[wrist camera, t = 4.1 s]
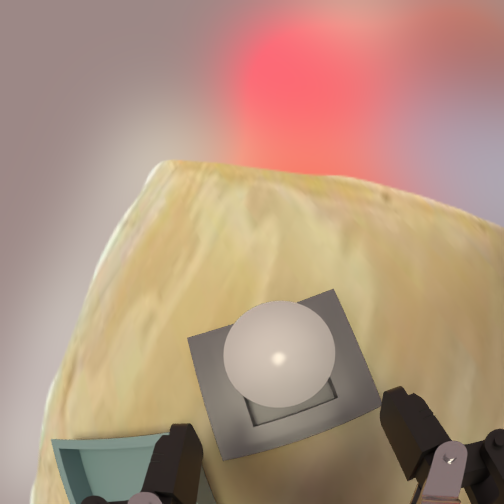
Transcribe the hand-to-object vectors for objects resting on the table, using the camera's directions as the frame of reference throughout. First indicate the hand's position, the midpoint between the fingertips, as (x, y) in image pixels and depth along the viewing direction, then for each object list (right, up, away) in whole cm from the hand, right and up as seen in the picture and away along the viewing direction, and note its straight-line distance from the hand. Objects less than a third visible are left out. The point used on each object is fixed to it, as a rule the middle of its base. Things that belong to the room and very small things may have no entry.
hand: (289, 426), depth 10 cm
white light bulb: (+1, -2, +9) cm, 9 cm away
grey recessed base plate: (+1, -2, +10) cm, 10 cm away
